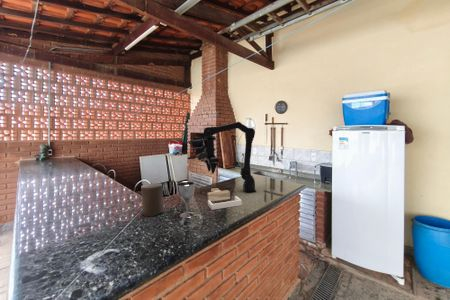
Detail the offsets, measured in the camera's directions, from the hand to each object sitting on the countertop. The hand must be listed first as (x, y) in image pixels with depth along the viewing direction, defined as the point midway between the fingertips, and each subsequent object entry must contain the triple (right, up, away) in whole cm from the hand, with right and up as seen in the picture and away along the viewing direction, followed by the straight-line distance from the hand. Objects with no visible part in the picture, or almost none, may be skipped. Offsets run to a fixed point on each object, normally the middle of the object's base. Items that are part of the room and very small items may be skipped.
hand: (211, 172), depth 130 cm
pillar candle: (-26, -17, -29) cm, 42 cm away
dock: (+8, -15, -21) cm, 27 cm away
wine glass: (-9, -17, -33) cm, 38 cm away
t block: (+4, -14, -9) cm, 17 cm away
